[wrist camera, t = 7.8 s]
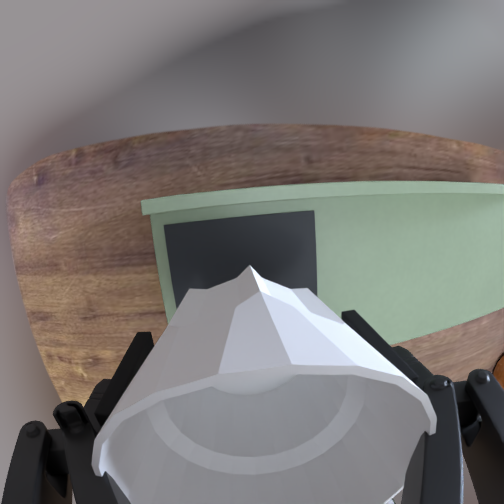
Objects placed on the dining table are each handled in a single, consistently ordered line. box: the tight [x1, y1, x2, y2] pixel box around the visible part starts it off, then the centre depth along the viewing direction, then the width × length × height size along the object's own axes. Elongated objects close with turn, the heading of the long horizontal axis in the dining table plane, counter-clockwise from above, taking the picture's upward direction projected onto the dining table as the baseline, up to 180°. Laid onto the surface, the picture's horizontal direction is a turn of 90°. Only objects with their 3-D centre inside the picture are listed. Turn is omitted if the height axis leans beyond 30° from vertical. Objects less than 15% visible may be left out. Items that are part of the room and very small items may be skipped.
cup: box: [91, 265, 437, 504], centre depth 11 cm, size 10×10×10 cm
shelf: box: [141, 181, 504, 345], centre depth 27 cm, size 39×15×11 cm, turn 95°
